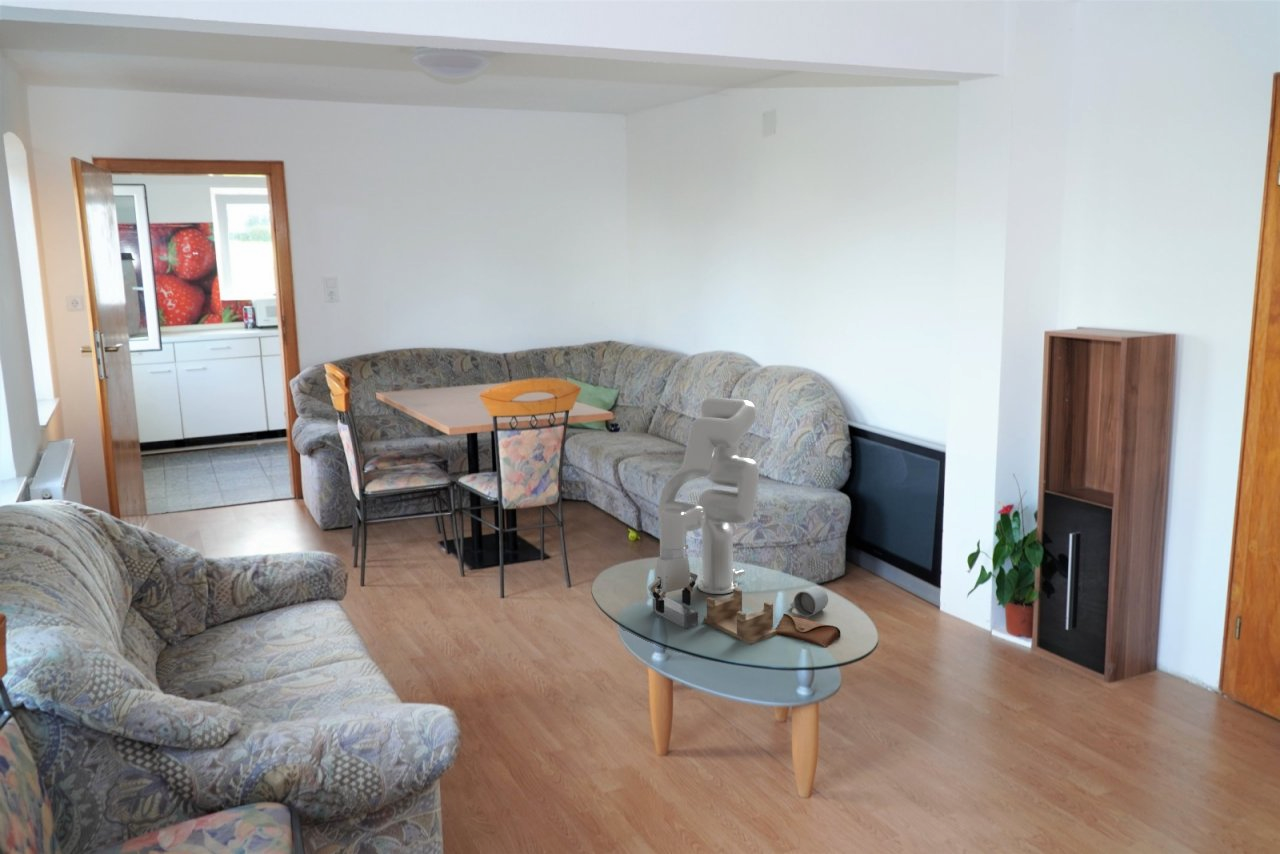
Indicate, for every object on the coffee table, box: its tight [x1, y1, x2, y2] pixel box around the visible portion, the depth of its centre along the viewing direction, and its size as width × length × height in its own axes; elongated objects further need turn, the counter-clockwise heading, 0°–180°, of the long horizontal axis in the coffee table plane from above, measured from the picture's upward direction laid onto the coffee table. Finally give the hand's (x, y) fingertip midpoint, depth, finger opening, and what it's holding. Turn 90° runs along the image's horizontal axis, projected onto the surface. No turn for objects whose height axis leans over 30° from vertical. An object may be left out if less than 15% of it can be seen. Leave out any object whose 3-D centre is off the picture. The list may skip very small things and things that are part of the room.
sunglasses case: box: [774, 613, 842, 648], centre depth 285 cm, size 18×7×7 cm, turn 54°
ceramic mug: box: [789, 585, 829, 618], centre depth 300 cm, size 11×8×8 cm
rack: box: [703, 587, 777, 645], centre depth 290 cm, size 11×20×8 cm, turn 36°
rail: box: [652, 595, 699, 630], centre depth 298 cm, size 4×16×4 cm, turn 36°
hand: (673, 607), depth 297 cm, fingers open, 9 cm apart
